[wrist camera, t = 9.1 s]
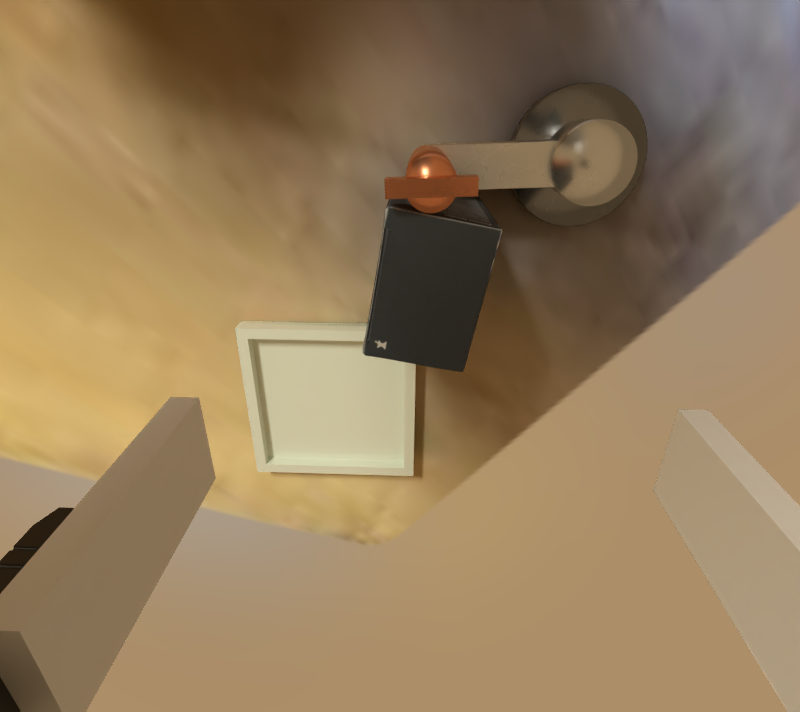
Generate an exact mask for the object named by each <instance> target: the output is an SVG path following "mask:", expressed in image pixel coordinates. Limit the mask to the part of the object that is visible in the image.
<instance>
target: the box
mask: <svg viewBox="0 0 800 712" xmlns="http://www.w3.org/2000/svg"><path fill="white" fill-rule="evenodd" d="M501 235H502V229H501V228H500V227H499V226H498V224H497V223H496V221H495V220H494V218H493V217H492V215H491V214H490V212H489V211H488V209H487V208H486V206H485V205H484V203H483V202H482V200H481V199H480V198H479V196H471V197H455V199H454V200H453V202H452V203H451V204H450V205H449V206H448V207H447V208H446V209H444V210H442V211H440V212H436V213H425V212H421V211H419V210H417V209H416V208H415V207H413V206H412V205H411V204H410V202H409V201H408V199H389V201H388V204H387V207H386V209H385V218H384V226H383V234H382V240H381V247H380V253H379V259H378V265H377V271H376V277H375V283H374V289H373V295H372V301H371V307H370V313H369V318H368V323H367V329H366V334H365V339H364V344H363V354H364V355H365V356H371V357H378V358H384V359H390V360H395V361H400V362H406V363H411V364H417V365H422V366H428V367H433V368H439V369H445V370H451V371H459V372H463V370H464V367H465V364H466V361H467V357H468V353H469V349H470V346H471V342H472V339H473V335H474V331H475V328H476V324H477V321H478V317H479V313H480V310H481V306H482V303H483V299H484V296H485V292H486V288H487V285H488V281H489V278H490V274H491V270H492V267H493V263H494V260H495V256H496V252H497V249H498V245H499V242H500V239H501Z"/></svg>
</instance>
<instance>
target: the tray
mask: <svg viewBox="0 0 800 712" xmlns="http://www.w3.org/2000/svg"><path fill="white" fill-rule="evenodd" d="M366 329H367V323H316V322H264V321H241V322H240V323H239V325H238V326H237V327H236V328H235V331H236V338H237V344H238V350H239V357H240V363H241V369H242V376H243V382H244V388H245V395H246V401H247V407H248V414H249V420H250V426H251V433H252V439H253V445H254V452H255V458H256V464H257V471H258V472H287V473H321V474H356V475H391V476H413V471H414V424H415V378H416V364H411V363H406V362H400V361H395V360H390V359H384V358H378V357H371V356H365V355H364V354H363V344H364V339H365V334H366Z"/></svg>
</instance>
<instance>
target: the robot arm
mask: <svg viewBox="0 0 800 712" xmlns="http://www.w3.org/2000/svg"><path fill="white" fill-rule="evenodd" d="M214 480H215V473H214V468H213V463H212V458H211V454H210V449H209V444H208V439H207V434H206V429H205V425H204V420H203V415H202V410H201V405H200V401H199V398H192V397H170V399H169V400H168V401H167V402H166V403H165V404H164V405H163V407H162V408H161V409H160V410H159V411H158V412H157V414H156V415H155V416H154V417H153V418H152V419H151V420H150V422H149V423H148V424H147V425H146V426H145V427H144V429H143V430H142V431H141V432H140V433H139V434H138V435H137V437H136V438H135V439H134V440H133V441H132V442H131V444H130V445H129V446H128V447H127V448H126V449H125V450H124V452H123V453H122V454H121V455H120V456H119V457H118V459H117V460H116V461H115V462H114V463H113V464H112V465H111V467H110V468H109V469H108V470H107V471H106V472H105V474H104V475H103V476H102V477H101V478H100V479H99V480H98V482H97V483H96V484H95V485H94V486H93V487H92V489H91V490H90V491H89V492H88V493H87V494H86V496H85V497H84V498H83V499H82V500H81V501H80V503H79V504H78V505H77V506H76V507H75V508H58V509H57V510H55V511H54V512H52V513H51V514H49V515H48V516H46V517H45V518H43V519H42V520H40V521H39V522H37V523H36V524H34V525H33V526H32V527H31V528H30V529H29V530H28V531H27V533H26V534H25V535H24V536H23V537H22V538H21V539H20V540H19V541H18V542H17V543H16V544H15V545H14V549H13V550H12V551H9V552H8V553H7V554H6V555H5V556H4V557H3V558H2V559H1V561H0V712H86V710H87V709H88V707H89V705H90V703H91V702H92V700H93V698H94V696H95V694H96V693H97V691H98V689H99V687H100V685H101V683H102V682H103V680H104V678H105V676H106V675H107V672H108V671H109V669H110V667H111V665H112V663H113V662H114V660H115V658H116V656H117V655H118V653H119V651H120V649H121V648H122V646H123V644H124V642H125V640H126V638H127V637H128V635H129V633H130V631H131V630H132V628H133V626H134V624H135V622H136V620H137V619H138V617H139V615H140V613H141V611H142V610H143V607H144V606H145V604H146V603H147V601H148V599H149V597H150V595H151V593H152V592H153V590H154V588H155V586H156V585H157V583H158V581H159V579H160V577H161V576H162V574H163V572H164V570H165V568H166V566H167V565H168V563H169V561H170V559H171V558H172V556H173V554H174V552H175V550H176V548H177V547H178V545H179V543H180V541H181V539H182V538H183V536H184V534H185V532H186V530H187V529H188V527H189V525H190V523H191V521H192V520H193V518H194V516H195V514H196V512H197V511H198V509H199V507H200V505H201V503H202V502H203V500H204V498H205V496H206V494H207V493H208V491H209V489H210V487H211V485H212V484H213V482H214ZM653 491H654V493H655V494H656V496H657V498H658V500H659V501H660V503H661V504H662V506H663V508H664V509H665V511H666V513H667V514H668V516H669V518H670V519H671V521H672V523H673V524H674V526H675V527H676V529H677V531H678V532H679V534H680V536H681V537H682V539H683V540H684V542H685V544H686V546H687V547H688V549H689V551H690V552H691V554H692V556H693V557H694V559H695V561H696V562H697V564H698V565H699V567H700V569H701V570H702V572H703V574H704V575H705V577H706V579H707V580H708V582H709V583H710V585H711V587H712V589H713V590H714V592H715V593H716V595H717V597H718V598H719V600H720V602H721V603H722V605H723V607H724V608H725V610H726V612H727V613H728V615H729V617H730V618H731V620H732V621H733V623H734V625H735V626H736V628H737V630H738V631H739V633H740V634H741V636H742V638H743V640H744V641H745V643H746V645H747V646H748V648H749V649H750V651H751V653H752V654H753V656H754V658H755V659H756V661H757V663H758V664H759V666H760V668H761V669H762V671H763V673H764V674H765V676H766V677H767V679H768V681H769V682H770V684H771V686H772V687H773V689H774V691H775V692H776V694H777V696H778V697H779V698H780V700H781V702H782V704H783V705H784V707H785V709H786V710H787V712H800V506H799V505H798V504H797V503H796V502H795V501H794V500H793V499H792V498H791V497H790V496H789V495H788V493H786V491H785V490H784V489H783V488H782V487H781V486H780V485H779V484H778V483H777V482H776V481H775V480H774V479H773V478H772V477H771V476H770V475H769V474H768V472H767V471H766V470H765V469H764V468H763V467H762V466H761V465H760V464H759V463H758V462H757V461H756V460H755V459H754V458H753V457H752V456H751V455H750V454H749V452H747V450H746V449H745V448H744V447H743V446H742V445H741V444H740V443H739V442H738V441H737V440H736V439H735V438H734V437H733V436H732V435H731V434H730V433H729V431H728V430H727V429H725V427H724V426H723V425H722V424H721V423H720V422H719V421H718V420H717V419H716V418H715V417H714V416H713V415H712V414H711V413H710V412H709V410H688V409H687V410H685V409H684V410H683V409H678V411H677V415H676V418H675V421H674V424H673V428H672V431H671V434H670V438H669V441H668V444H667V448H666V451H665V454H664V457H663V461H662V464H661V467H660V471H659V474H658V477H657V480H656V484H655V487H654V490H653Z"/></svg>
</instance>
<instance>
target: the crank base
mask: <svg viewBox="0 0 800 712" xmlns="http://www.w3.org/2000/svg"><path fill="white" fill-rule="evenodd" d="M584 118H585V119H604V120H611V121H615V122H617V123H619V124H621V125H623V126H624V127H625V128H627V130H628V131H629V132H630V133H631V134H632V136H633V138H634V140H635V143H636V146H637V153H638V158H637V165H636V169H635V172H634V175H633V177H632V179H631V181H630V182H629V184H628V185H627V186H626V188H625V189H624V190H623V191H622V192H621V193H620V194H619V195H618V196H616V197H615V198H613V199H612V200H610V201H608V202H606V203H604V204H601V205H596V206H582V205H578V204H575V203H573V202H571V201H569V200H568V199H566V198H564V197H563V196H561V195H560V194H558V193H556V192H555V191H554V190H553V189H552V188H551V187H539V188H513V190H514V192H515V194H516V196H517V198H518V199H519V200H520V202H521V203H522V204H523V205H524V206H525V207H526V208H527V209H528V210H529V211H530V212H531V213H532V214H534V215H535V216H536V217H538V218H540V219H541V220H543V221H546V222H548V223H551V224H555V225H559V226H577V225H583V224H587V223H590V222H593V221H595V220H598V219H600V218H602V217H604V216H605V215H607V214H609V213H610V212H611V211H613V210H614V209H615V208H617V207H618V206H619V205H620V204H621V203H622V202H623V201H624V200H625V199H626V198H627V196H628V195H629V194H630V193H631V191H632V190H633V188H634V187H635V185H636V183H637V181H638V180H639V178H640V175H641V173H642V170H643V167H644V164H645V160H646V154H647V133H646V128H645V124H644V121H643V118H642V116H641V114H640V112H639V110H638V109H637V107H636V106H635V104H634V103H633V102H632V101H631V100H630V99H629V98H628V97H627V96H626V95H625V94H623V93H622V92H620V91H618V90H617V89H614V88H612V87H610V86H607V85H602V84H596V83H583V84H575V85H570V86H566V87H563V88H560V89H557V90H555V91H553V92H551V93H549V94H548V95H546V96H545V97H543V98H542V99H540V100H539V101H538V102H537V103H536V104H534V105H533V106H532V107H531V108H530V110H529V111H528V112H527V113H526V114H525V116H524V117H523V118H522V120H521V121H520V123H519V125H518V127H517V128H516V130H515V133H514V135H513V138H512V141H520V140H547V139H550V138H551V137H552V136H553V134H554V133H555V132H556V131H557V130H558V129H559V128H561V127H562V126H564V125H565V124H567V123H569V122H571V121H574V120H577V119H584Z"/></svg>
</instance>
